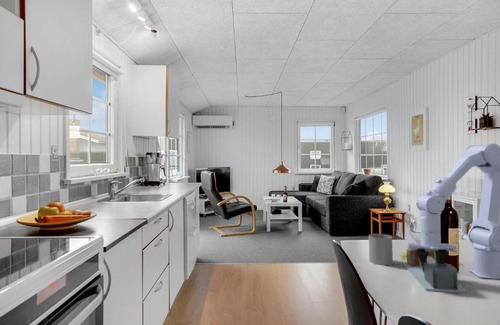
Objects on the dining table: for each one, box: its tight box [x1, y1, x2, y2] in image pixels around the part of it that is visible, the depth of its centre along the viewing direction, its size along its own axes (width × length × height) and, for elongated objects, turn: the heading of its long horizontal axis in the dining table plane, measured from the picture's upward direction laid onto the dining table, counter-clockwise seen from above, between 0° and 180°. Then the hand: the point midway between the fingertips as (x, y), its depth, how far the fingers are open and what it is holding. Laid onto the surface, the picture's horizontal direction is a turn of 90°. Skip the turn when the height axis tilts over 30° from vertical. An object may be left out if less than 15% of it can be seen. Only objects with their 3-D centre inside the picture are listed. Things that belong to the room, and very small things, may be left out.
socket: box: [406, 248, 436, 266], centre depth 116 cm, size 8×4×6 cm, turn 78°
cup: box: [368, 233, 394, 266], centre depth 123 cm, size 8×8×10 cm
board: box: [402, 262, 468, 294], centre depth 106 cm, size 11×25×1 cm, turn 168°
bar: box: [419, 256, 440, 271], centre depth 104 cm, size 4×17×5 cm, turn 168°
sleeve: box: [424, 262, 459, 290], centre depth 98 cm, size 6×8×6 cm
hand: (431, 272), depth 105 cm, fingers closed on bar, 3 cm apart
